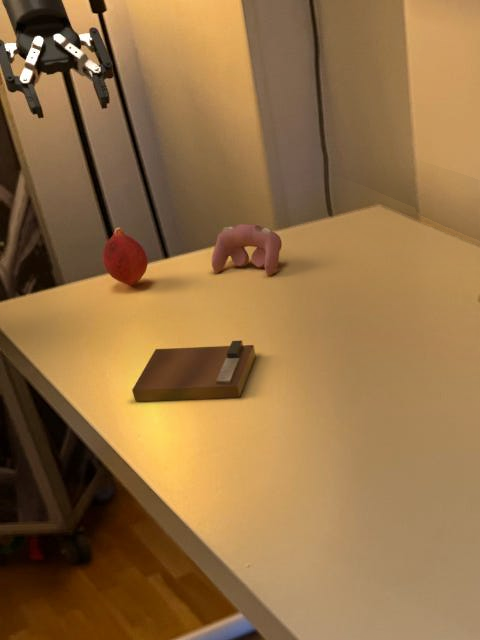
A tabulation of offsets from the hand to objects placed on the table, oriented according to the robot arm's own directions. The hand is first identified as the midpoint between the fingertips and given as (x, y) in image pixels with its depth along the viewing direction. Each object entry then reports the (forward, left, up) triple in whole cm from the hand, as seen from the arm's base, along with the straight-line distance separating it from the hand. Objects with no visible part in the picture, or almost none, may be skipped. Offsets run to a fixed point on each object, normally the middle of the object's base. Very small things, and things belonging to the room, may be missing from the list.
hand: (73, 109), depth 134 cm
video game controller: (+21, -5, -21) cm, 30 cm away
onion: (+5, -10, -21) cm, 24 cm away
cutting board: (+21, -41, -21) cm, 51 cm away
